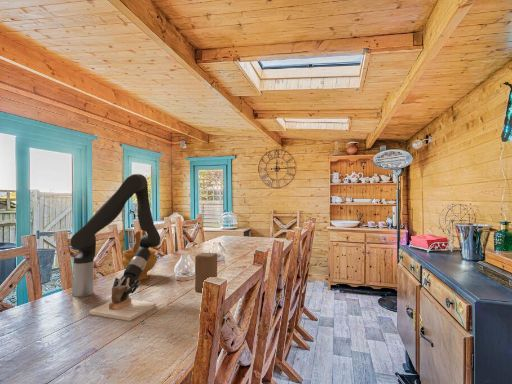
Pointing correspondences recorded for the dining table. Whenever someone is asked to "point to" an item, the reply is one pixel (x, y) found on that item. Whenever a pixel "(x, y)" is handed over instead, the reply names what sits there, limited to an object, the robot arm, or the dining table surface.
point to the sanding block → (116, 297)
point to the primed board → (124, 310)
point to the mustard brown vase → (131, 252)
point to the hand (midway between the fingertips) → (117, 299)
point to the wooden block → (204, 268)
